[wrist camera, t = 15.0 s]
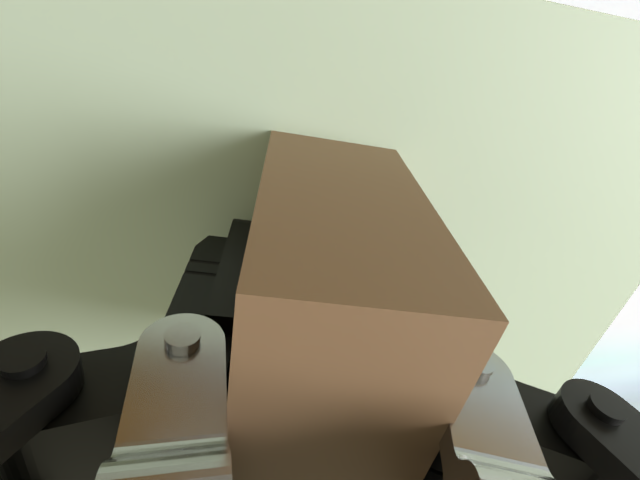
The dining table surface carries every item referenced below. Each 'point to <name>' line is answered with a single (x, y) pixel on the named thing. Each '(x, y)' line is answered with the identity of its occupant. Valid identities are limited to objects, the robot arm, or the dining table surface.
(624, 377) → the dining table surface
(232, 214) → the lid
